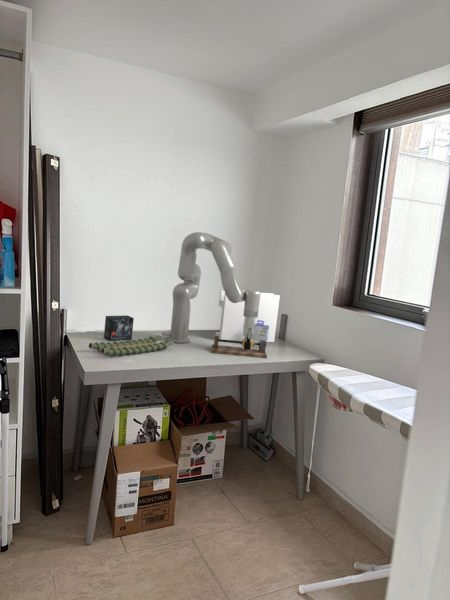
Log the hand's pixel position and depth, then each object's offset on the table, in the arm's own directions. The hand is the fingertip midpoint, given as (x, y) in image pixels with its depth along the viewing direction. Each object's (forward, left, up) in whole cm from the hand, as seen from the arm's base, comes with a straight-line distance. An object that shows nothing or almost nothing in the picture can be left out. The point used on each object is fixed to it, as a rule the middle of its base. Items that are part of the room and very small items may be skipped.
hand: (246, 348), depth 241 cm
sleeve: (0, 0, +1) cm, 1 cm away
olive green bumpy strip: (-56, -16, -3) cm, 58 cm away
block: (+2, +32, -3) cm, 32 cm away
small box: (-67, +4, -3) cm, 67 cm away
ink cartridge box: (+8, +19, -3) cm, 21 cm away
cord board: (-4, 0, -3) cm, 5 cm away
